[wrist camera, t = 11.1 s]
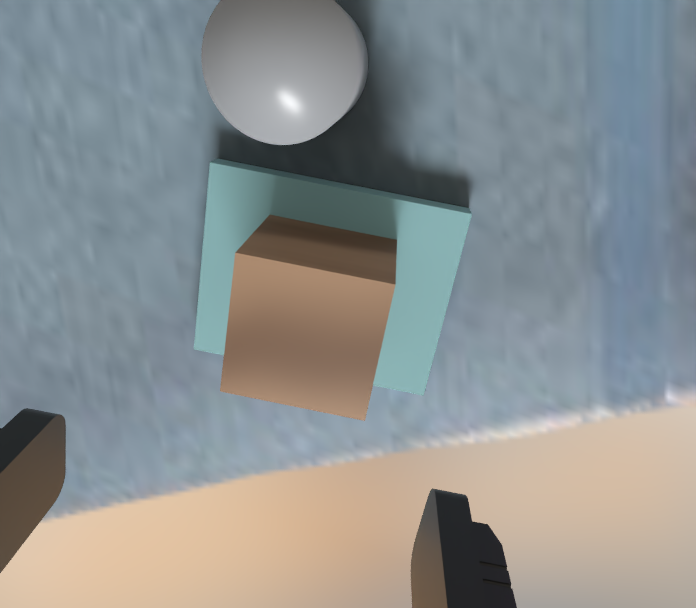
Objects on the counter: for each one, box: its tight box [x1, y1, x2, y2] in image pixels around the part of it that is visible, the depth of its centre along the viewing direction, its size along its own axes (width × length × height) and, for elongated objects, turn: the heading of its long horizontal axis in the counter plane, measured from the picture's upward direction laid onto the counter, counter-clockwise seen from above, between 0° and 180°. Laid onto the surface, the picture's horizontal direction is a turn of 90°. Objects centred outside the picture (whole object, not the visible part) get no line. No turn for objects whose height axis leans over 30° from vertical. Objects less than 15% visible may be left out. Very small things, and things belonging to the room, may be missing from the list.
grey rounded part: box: [202, 0, 369, 145], centre depth 19 cm, size 4×4×6 cm
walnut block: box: [220, 215, 397, 421], centre depth 21 cm, size 5×5×5 cm
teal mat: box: [194, 159, 472, 396], centre depth 24 cm, size 10×8×1 cm
